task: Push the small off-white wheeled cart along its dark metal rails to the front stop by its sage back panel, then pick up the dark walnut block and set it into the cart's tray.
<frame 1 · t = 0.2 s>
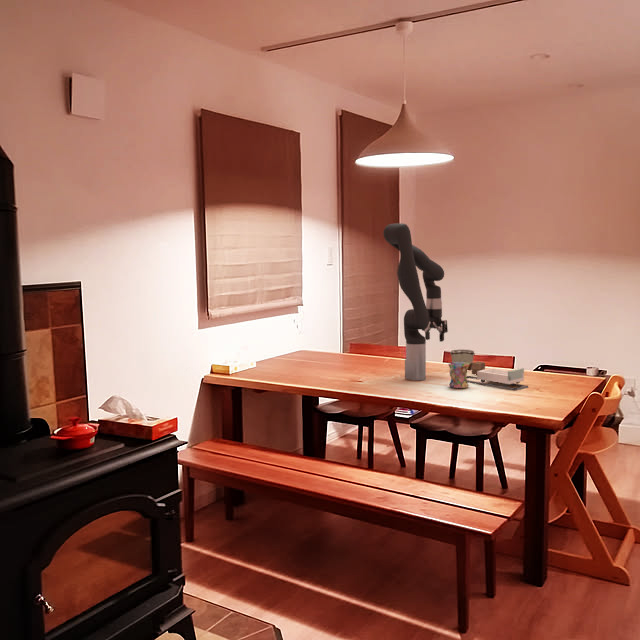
hand: (434, 340, 313), 17 cm above the table, tool pointing down, fingers open, 8 cm apart
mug: (457, 388, 285), on the table
food container: (461, 369, 329), on the table
cart: (500, 375, 288), point 4 cm above the table, slide at 0.0 cm
block: (478, 374, 315), on the table
rails: (490, 383, 293), on the table
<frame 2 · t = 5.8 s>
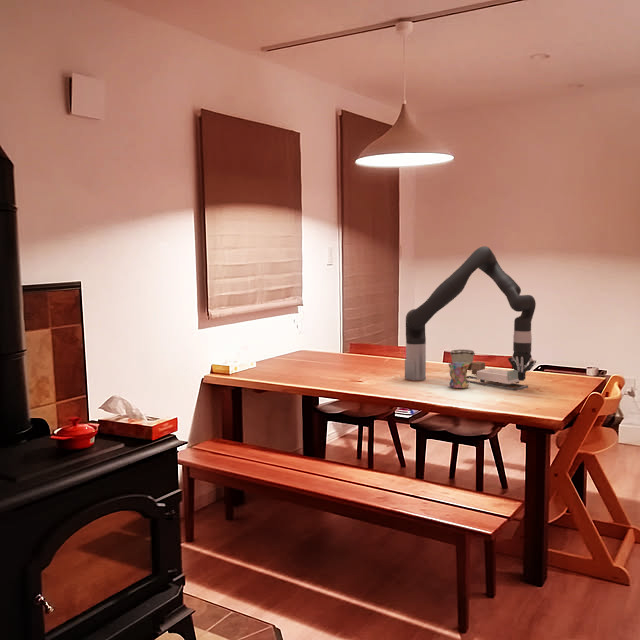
hand: (521, 380, 280), 4 cm above the table, tool pointing down, fingers closed
cart: (499, 375, 289), point 4 cm above the table, slide at 0.3 cm, touching gripper
everything else where it was.
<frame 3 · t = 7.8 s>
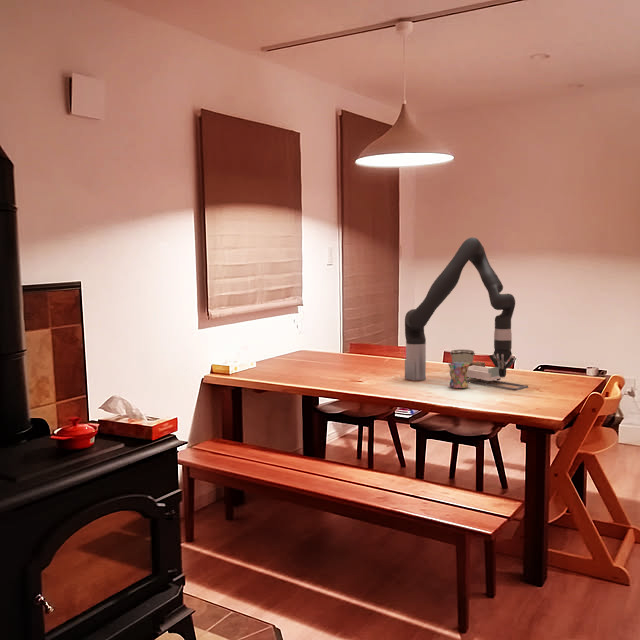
hand: (502, 376, 287), 4 cm above the table, tool pointing down, fingers closed
cart: (481, 372, 296), point 4 cm above the table, slide at 10.0 cm, touching gripper
everything else where it was.
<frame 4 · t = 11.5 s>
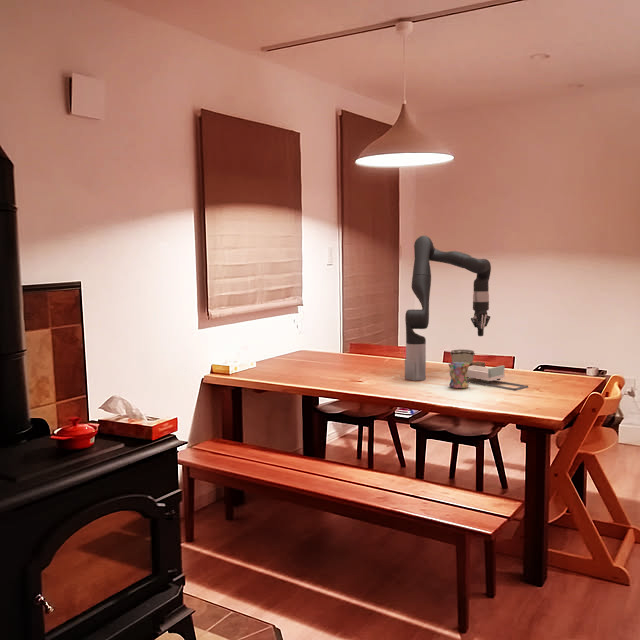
hand: (480, 336, 311), 19 cm above the table, tool pointing down, fingers closed
cart: (481, 372, 296), point 4 cm above the table, slide at 10.0 cm
everything else where it was.
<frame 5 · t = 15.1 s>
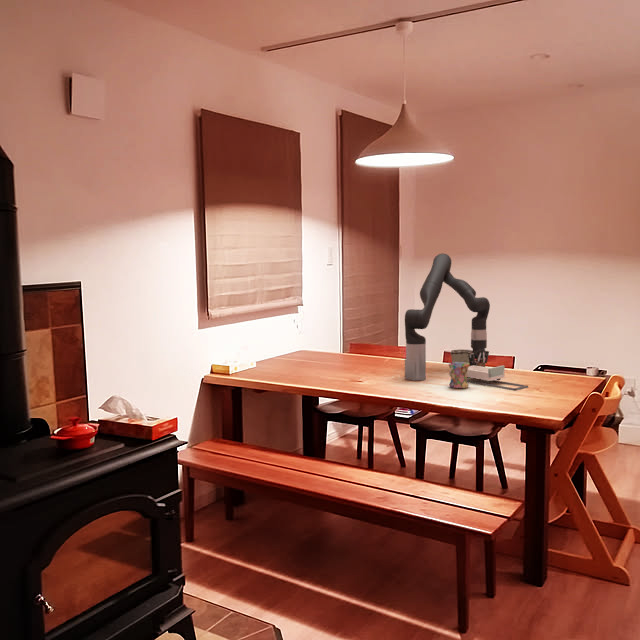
hand: (478, 372, 315), 1 cm above the table, tool pointing down, fingers closed on block, 4 cm apart
block: (478, 374, 315), on the table, touching gripper
everything else where it was.
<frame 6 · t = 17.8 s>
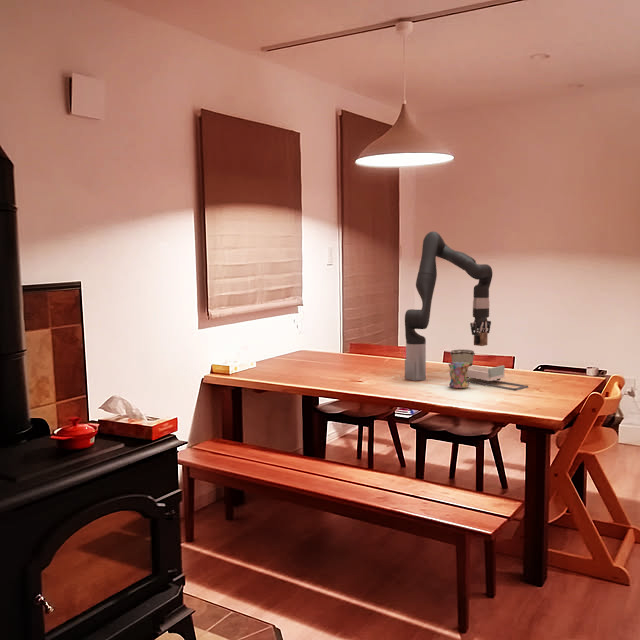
hand: (480, 343, 301), 17 cm above the table, tool pointing down, fingers closed on block, 4 cm apart
block: (480, 345, 301), point 16 cm above the table, touching gripper
everything else where it was.
when the fingers open (6 cm above the table, at t = 20.8 s): block drops 1 cm, resting on cart.
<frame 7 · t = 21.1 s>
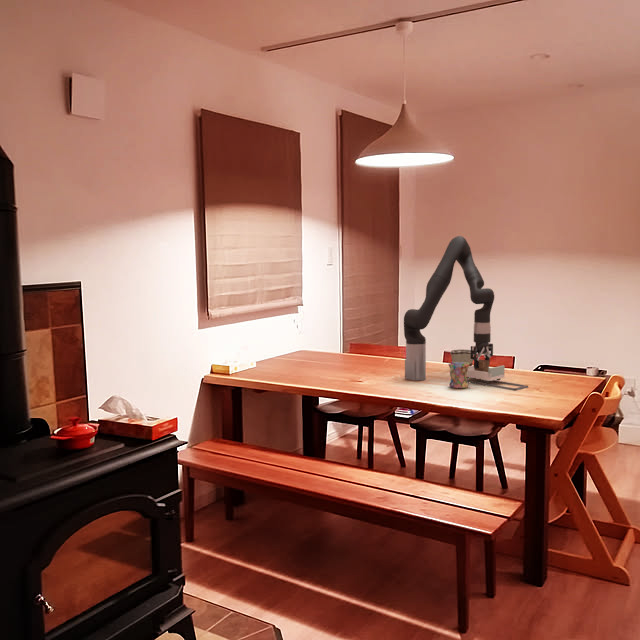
hand: (481, 367, 296), 7 cm above the table, tool pointing down, fingers open, 7 cm apart
cart: (481, 372, 296), point 4 cm above the table, slide at 10.0 cm, touching block
block: (481, 373, 296), point 4 cm above the table, touching cart
everything else where it was.
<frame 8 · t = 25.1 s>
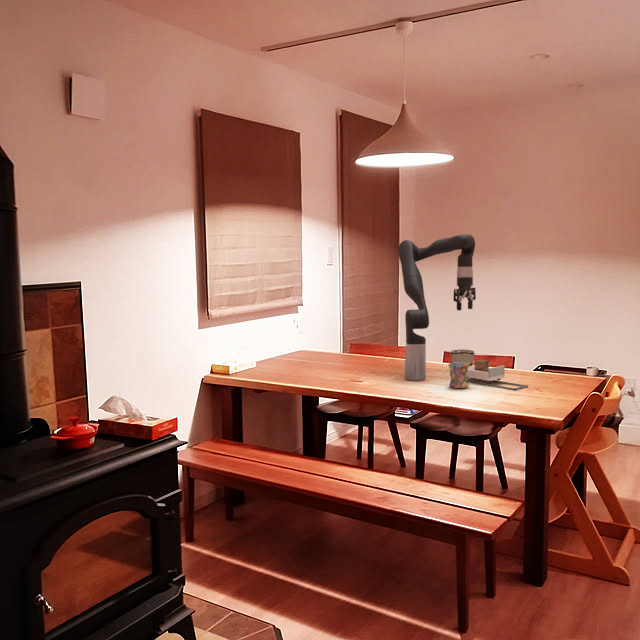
hand: (464, 309, 311), 32 cm above the table, tool pointing down, fingers open, 8 cm apart
nothing on the table moved.
at the end: cart slide at 10.0 cm; block inside the target area on the cart (0.0 cm from its centre), point 4.0 cm above the cart's base; block tilted 0° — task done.
